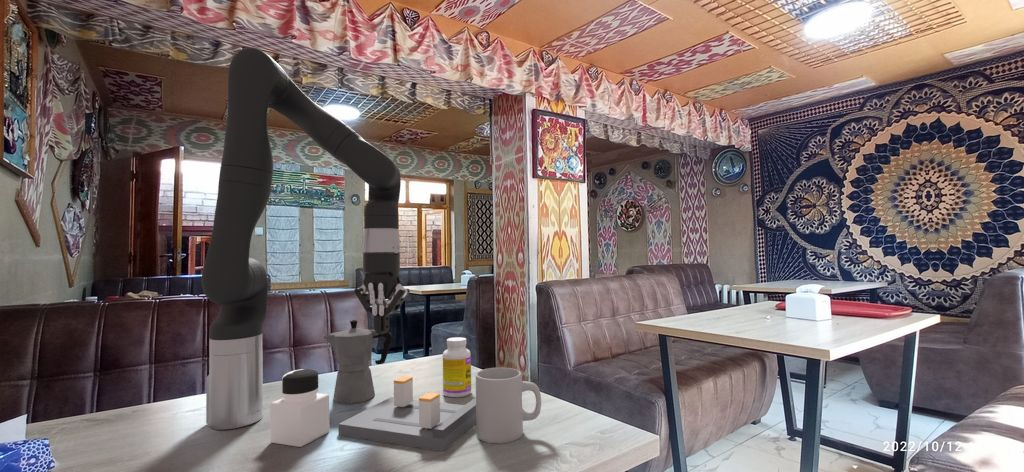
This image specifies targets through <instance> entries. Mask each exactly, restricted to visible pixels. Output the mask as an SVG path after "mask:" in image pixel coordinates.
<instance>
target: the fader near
mask: <svg viewBox="0 0 1024 472" xmlns="http://www.w3.org/2000/svg"><path fill="white" fill-rule="evenodd" d="M440 396H441V395H440V393H435V392H427V393H425V394H424V395H422V396H420V397H418V400H419V427H423V428H430V429H431V428H433V427H434V426H435V425H437V424H438V423H440V403H441V397H440Z"/></svg>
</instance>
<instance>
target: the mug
mask: <svg viewBox="0 0 1024 472" xmlns="http://www.w3.org/2000/svg"><path fill="white" fill-rule="evenodd" d="M526 391H528V392H532V393H534V396H535V406H534V407H535V408H534V409H533V410H531V411H528V410H525V409H523V392H526ZM475 399H476V424H475V430H476V431H475V432H476V434H475V435H476V436H477V438H478V439H479V440H480V441H482V442H485V443H487V444H489V443H490V444H507V443H511V442H514V441H517V440H519V439H520V438H522V436H523V433H524V423H523V422H526V421H528V422H529V421H533V420H536V419H537V418H538V417H539V416H540V413H541V410H542V409H541V408H542V395H541V391H540V388H539V386H538V385H537V384H536V383H535V382H531V381H527V380H526V381H524V380H523V379H522V373H521V371H520V370H519V369H516V368H511V367H490V368H485V369H482V370H479V371H478V372H476V374H475Z"/></svg>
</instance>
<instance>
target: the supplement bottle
mask: <svg viewBox="0 0 1024 472" xmlns="http://www.w3.org/2000/svg"><path fill="white" fill-rule="evenodd" d="M446 346H447V349H445V350H444V351H443V352H442V393H443V396H445V397H448V398H462V397H463V398H464V397H467V396H468V395H470V394H471V392H472V356H471V355H472V354H471V350H470V349H468V348H467V347H466V346H467V338H466V337H459V336H458V337H449V338H447V339H446Z"/></svg>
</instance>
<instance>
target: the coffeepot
mask: <svg viewBox="0 0 1024 472" xmlns="http://www.w3.org/2000/svg"><path fill="white" fill-rule="evenodd" d="M349 323H350V328H348V329H345V330H341V331H337V332H332V333H329V334H326V335H324V337H323V339H325V340H327V342H328V343H329V344H330V346H331V347H332V349H333V351H334V352H335V357H336V362H337V364H338V371H337V374H336V380H335V386H334V392H333V400H334V402H335V403H337V404H341V405H351V404H353V405H354V404H359V403H364V402H367V401H370V400H371V399H373V398H374V396H376V394H375V387H374V383H373V376H372V370H371V368H370V361H371V360H372V355H373V353H372V352H373V346H374V341H375V339H377V338H382V337H383V338H385V340H384V341H383V348H382V350H381V353H380V359H378V360H377V359H376V360H375V361H374V362H375V364H376V365H383V364H385V362H386V360H387V357H388V354H389V351H390V348H391V344H392V342H393V339H394V337H393V334H392V333H391V332H390V331H389V330H388V331H387V333H384V334H376V332H375V330H374V329H367V328H361V327H357V326H358V320H356V319H351V320H350V321H349Z"/></svg>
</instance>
